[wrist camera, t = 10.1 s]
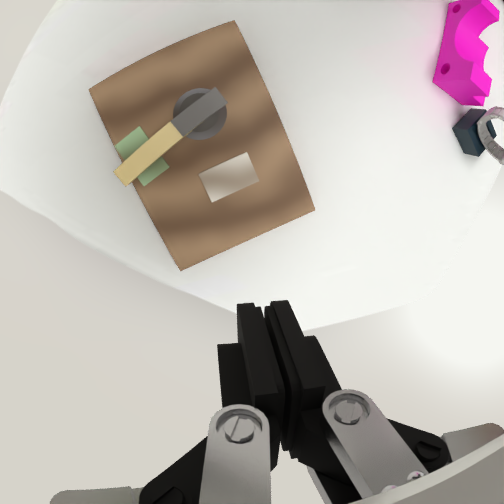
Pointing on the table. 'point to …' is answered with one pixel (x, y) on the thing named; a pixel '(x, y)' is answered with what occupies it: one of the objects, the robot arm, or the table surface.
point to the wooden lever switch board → (206, 146)
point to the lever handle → (174, 132)
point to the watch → (479, 132)
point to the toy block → (465, 52)
